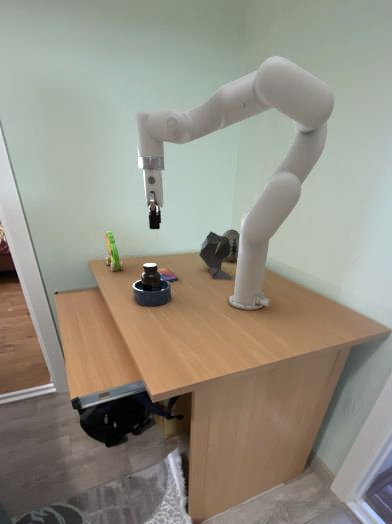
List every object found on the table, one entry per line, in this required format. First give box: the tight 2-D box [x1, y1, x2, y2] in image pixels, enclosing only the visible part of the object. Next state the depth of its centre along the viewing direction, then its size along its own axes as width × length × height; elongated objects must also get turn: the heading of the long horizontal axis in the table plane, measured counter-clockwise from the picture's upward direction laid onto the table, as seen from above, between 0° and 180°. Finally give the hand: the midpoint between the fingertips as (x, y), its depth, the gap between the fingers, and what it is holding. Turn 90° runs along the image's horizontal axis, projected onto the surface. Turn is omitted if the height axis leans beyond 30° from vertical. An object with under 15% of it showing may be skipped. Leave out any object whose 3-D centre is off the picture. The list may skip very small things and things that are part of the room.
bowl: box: [132, 279, 172, 307], centre depth 106 cm, size 13×13×6 cm
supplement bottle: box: [140, 262, 162, 291], centre depth 104 cm, size 7×7×12 cm
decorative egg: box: [221, 228, 240, 262], centre depth 145 cm, size 12×12×15 cm
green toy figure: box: [105, 231, 124, 272], centre depth 133 cm, size 16×5×15 cm, turn 25°
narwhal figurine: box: [199, 231, 233, 280], centre depth 128 cm, size 14×15×18 cm
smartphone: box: [157, 266, 178, 282], centre depth 128 cm, size 7×15×1 cm, turn 23°
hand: (155, 226), depth 96 cm, fingers open, 9 cm apart
